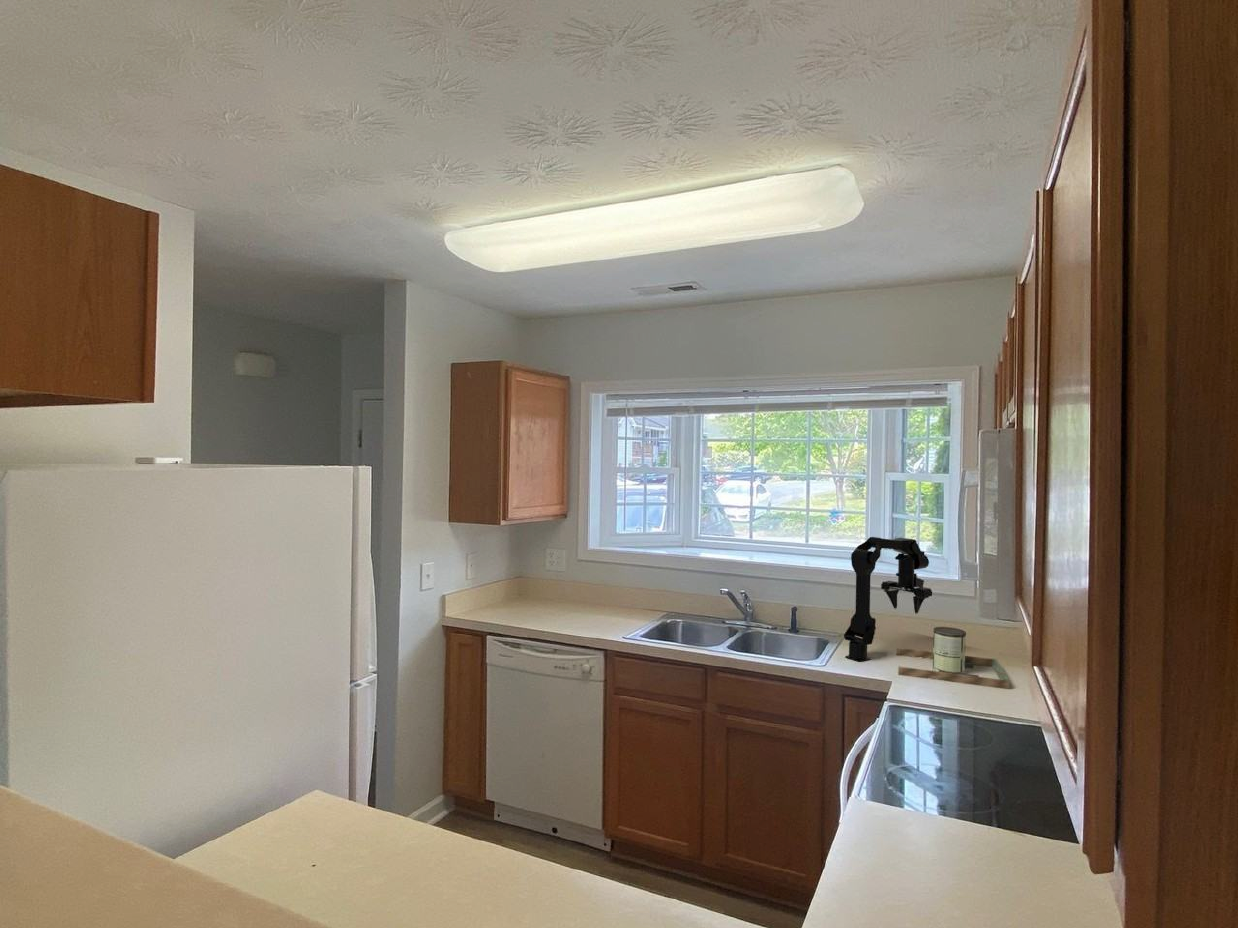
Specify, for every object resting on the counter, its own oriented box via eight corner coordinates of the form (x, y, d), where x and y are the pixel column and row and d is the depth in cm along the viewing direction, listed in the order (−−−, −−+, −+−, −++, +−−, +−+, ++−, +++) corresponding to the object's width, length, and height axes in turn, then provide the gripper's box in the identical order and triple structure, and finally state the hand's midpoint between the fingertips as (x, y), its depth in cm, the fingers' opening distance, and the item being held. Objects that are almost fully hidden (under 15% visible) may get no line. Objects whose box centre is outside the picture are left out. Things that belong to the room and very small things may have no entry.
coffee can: (927, 665, 244) (929, 625, 244) (957, 666, 243) (959, 627, 243) (938, 674, 234) (939, 633, 234) (969, 675, 233) (971, 634, 233)
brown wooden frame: (898, 674, 232) (898, 665, 232) (896, 654, 257) (896, 646, 257) (1008, 689, 220) (1008, 679, 220) (995, 666, 245) (995, 657, 245)
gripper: (941, 572, 260) (940, 613, 260) (898, 565, 275) (897, 603, 276) (923, 575, 254) (922, 617, 254) (880, 567, 270) (880, 607, 270)
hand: (905, 610), depth 264 cm, fingers open, 9 cm apart
